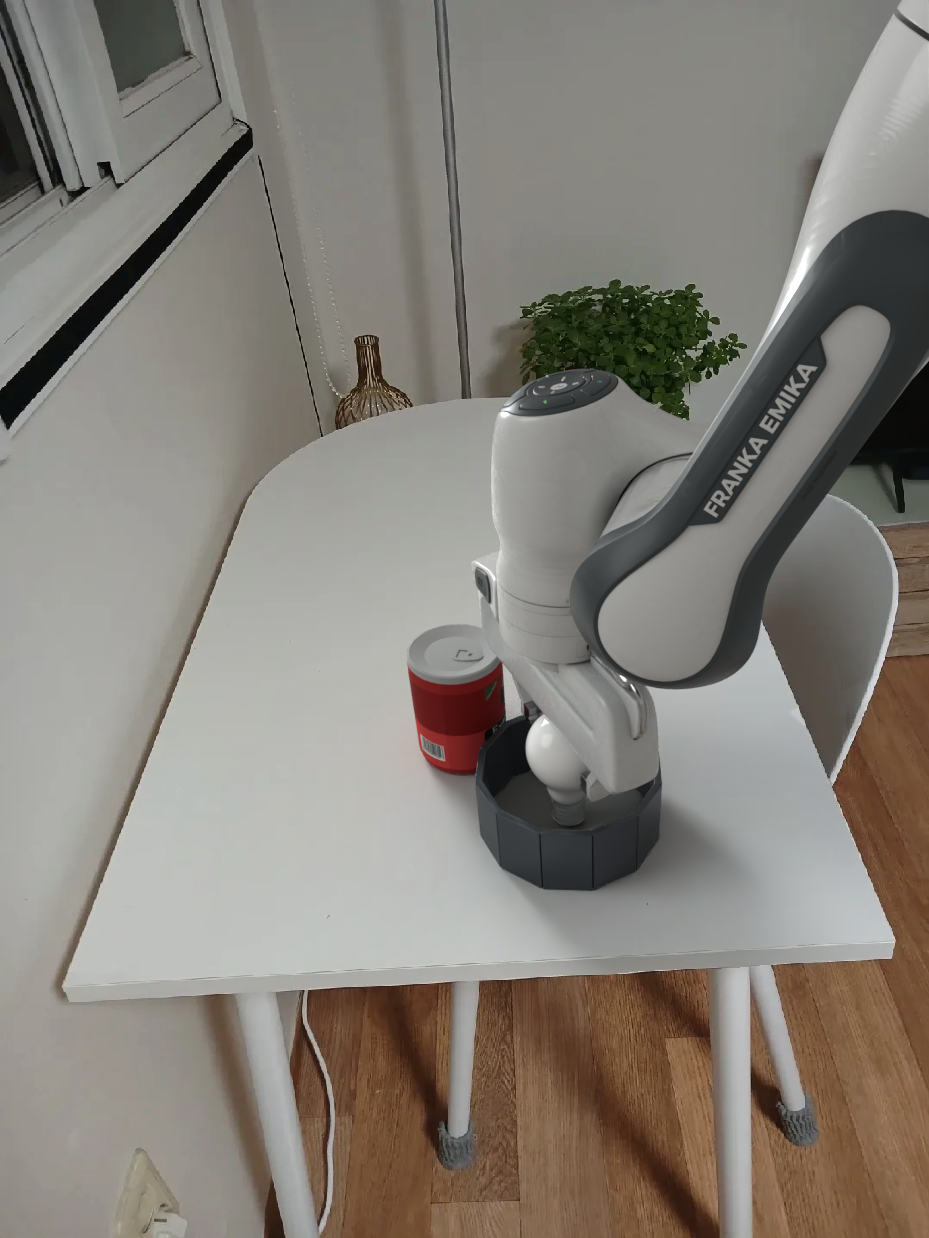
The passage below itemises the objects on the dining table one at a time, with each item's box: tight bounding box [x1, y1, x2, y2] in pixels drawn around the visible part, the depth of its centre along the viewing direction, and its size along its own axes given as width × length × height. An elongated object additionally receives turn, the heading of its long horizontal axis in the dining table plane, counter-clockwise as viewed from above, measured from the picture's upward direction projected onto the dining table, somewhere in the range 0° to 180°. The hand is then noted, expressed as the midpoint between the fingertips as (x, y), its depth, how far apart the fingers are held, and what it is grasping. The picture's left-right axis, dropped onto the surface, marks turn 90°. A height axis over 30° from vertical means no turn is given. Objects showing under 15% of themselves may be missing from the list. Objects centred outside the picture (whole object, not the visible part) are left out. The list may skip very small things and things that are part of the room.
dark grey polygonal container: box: [474, 714, 663, 891], centre depth 76 cm, size 14×14×6 cm
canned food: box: [406, 623, 507, 775], centre depth 82 cm, size 8×8×11 cm
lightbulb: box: [525, 714, 589, 827], centre depth 74 cm, size 6×6×11 cm
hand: (563, 753), depth 73 cm, fingers open, 8 cm apart
